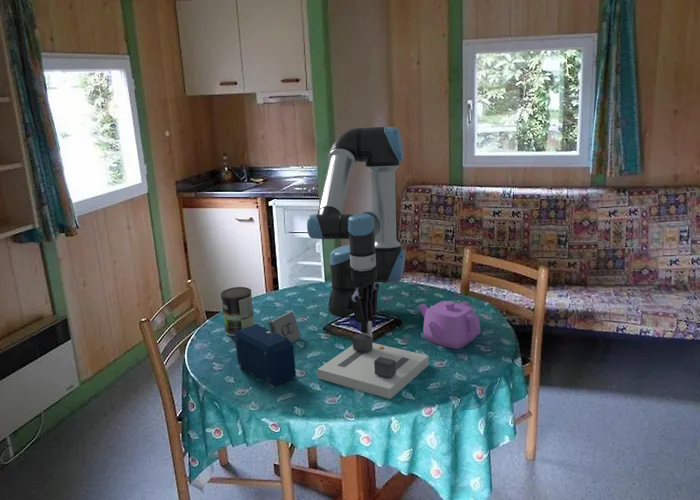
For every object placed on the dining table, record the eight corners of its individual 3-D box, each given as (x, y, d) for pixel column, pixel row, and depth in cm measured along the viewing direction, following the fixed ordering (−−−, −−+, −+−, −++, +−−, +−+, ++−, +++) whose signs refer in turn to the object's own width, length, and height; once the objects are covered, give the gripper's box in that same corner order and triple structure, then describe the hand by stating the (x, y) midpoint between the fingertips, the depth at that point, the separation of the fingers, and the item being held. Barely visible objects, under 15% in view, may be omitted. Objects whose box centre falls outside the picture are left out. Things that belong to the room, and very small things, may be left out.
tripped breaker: (358, 345, 193) (358, 333, 192) (372, 349, 190) (371, 336, 189) (353, 349, 191) (352, 337, 189) (367, 353, 188) (366, 340, 187)
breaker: (380, 369, 177) (379, 356, 176) (395, 373, 175) (395, 360, 173) (374, 374, 175) (374, 361, 174) (390, 378, 172) (389, 364, 171)
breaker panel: (360, 348, 199) (359, 338, 198) (428, 365, 185) (428, 354, 185) (318, 378, 182) (317, 368, 181) (390, 399, 168) (389, 388, 167)
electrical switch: (281, 348, 202) (276, 321, 200) (270, 346, 205) (265, 319, 203) (301, 338, 209) (297, 311, 207) (290, 336, 212) (285, 310, 210)
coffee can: (227, 338, 212) (222, 299, 208) (223, 327, 221) (218, 289, 217) (257, 333, 215) (253, 294, 211) (252, 322, 224) (248, 284, 220)
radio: (300, 378, 182) (294, 314, 177) (275, 389, 177) (268, 323, 171) (259, 356, 198) (253, 296, 192) (235, 366, 192) (228, 305, 186)
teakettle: (483, 348, 194) (483, 310, 191) (428, 352, 194) (427, 315, 190) (470, 326, 211) (469, 291, 207) (419, 329, 210) (418, 295, 206)
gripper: (362, 275, 178) (366, 352, 185) (385, 262, 188) (389, 335, 195) (340, 271, 182) (345, 346, 189) (364, 259, 192) (368, 330, 199)
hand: (367, 341), depth 192 cm, fingers closed
